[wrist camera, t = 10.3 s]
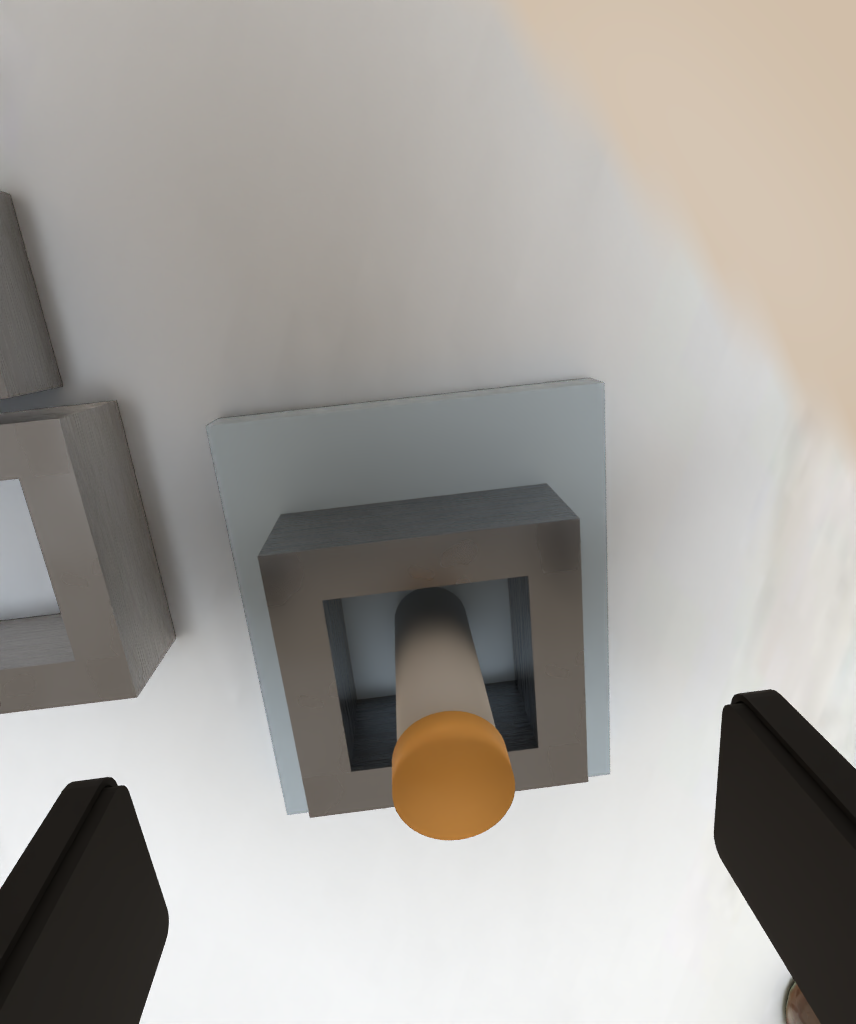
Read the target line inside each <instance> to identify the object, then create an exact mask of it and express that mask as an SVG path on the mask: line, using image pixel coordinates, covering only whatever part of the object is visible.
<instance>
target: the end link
mask: <svg viewBox="0 0 856 1024" xmlns="http://www.w3.org/2000/svg"><path fill="white" fill-rule="evenodd" d="M257 557H258V562H259V567H260V572H261V577H262V582H263V587H264V592H265V597H266V602H267V607H268V612H269V617H270V622H271V627H272V632H273V636H274V641H275V646H276V651H277V656H278V661H279V666H280V671H281V676H282V681H283V686H284V691H285V696H286V701H287V706H288V711H289V716H290V721H291V726H292V731H293V736H294V741H295V746H296V751H297V756H298V761H299V766H300V771H301V776H302V781H303V786H304V791H305V796H306V801H307V806H308V811H309V816H310V818H311V817H319V816H327V815H335V814H342V813H350V812H358V811H366V810H373V809H381V808H389V807H395V806H394V803H393V798H392V755H393V751H394V748H395V745H396V743H397V724H396V695H391V696H383V697H375V698H367V699H359V700H357V695H356V689H355V683H354V677H353V671H352V664H351V658H350V652H349V646H348V639H347V633H346V627H345V621H344V614H343V608H342V602H341V598H347V597H355V596H363V595H372V594H380V593H388V592H397V591H405V590H413V589H422V588H430V587H438V586H446V585H455V584H463V583H471V582H480V581H488V580H496V579H505V578H508V588H509V602H510V616H511V631H512V645H513V659H514V673H515V680H511V681H503V682H495V683H487V684H484V685H485V689H486V692H487V696H488V700H489V704H490V708H491V712H492V716H493V719H494V723H495V727H496V729H497V730H498V731H499V733H500V734H501V736H502V738H503V740H504V742H505V745H506V749H507V752H508V756H509V760H510V763H511V767H512V771H513V774H514V779H515V791H521V790H528V789H536V788H544V787H552V786H559V785H567V784H575V783H583V782H588V761H587V729H586V698H585V666H584V634H583V602H582V570H581V538H580V518H579V517H578V516H577V515H576V514H575V513H574V512H573V511H572V510H571V508H570V507H569V506H568V505H567V504H566V503H565V502H564V501H563V500H562V499H561V498H560V497H559V496H558V495H557V494H556V493H555V491H554V490H553V489H552V488H551V487H550V486H549V485H548V484H547V483H544V484H536V485H527V486H519V487H510V488H501V489H493V490H484V491H476V492H467V493H458V494H450V495H441V496H433V497H424V498H416V499H407V500H398V501H390V502H381V503H373V504H364V505H355V506H347V507H338V508H330V509H321V510H313V511H304V512H295V513H287V514H280V516H279V518H278V520H277V522H276V523H275V525H274V527H273V529H272V531H271V533H270V534H269V536H268V538H267V540H266V542H265V544H264V545H263V547H262V549H261V551H260V553H259V555H258V556H257Z"/></svg>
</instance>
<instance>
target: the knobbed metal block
mask: <svg viewBox="0 0 856 1024" xmlns="http://www.w3.org/2000/svg"><path fill="white" fill-rule="evenodd" d="M57 387H62V382H61V378H60V375H59V371H58V367H57V364H56V360H55V356H54V353H53V349H52V346H51V342H50V338H49V335H48V331H47V327H46V324H45V320H44V316H43V313H42V309H41V306H40V302H39V298H38V295H37V291H36V287H35V284H34V280H33V276H32V273H31V269H30V266H29V262H28V258H27V255H26V251H25V247H24V244H23V240H22V236H21V233H20V229H19V225H18V222H17V218H16V215H15V211H14V207H13V204H12V200H11V196H10V194H8V193H5V192H2V191H0V399H4V398H11V397H16V396H21V395H25V394H30V393H34V392H39V391H44V390H48V389H53V388H57Z"/></svg>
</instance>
